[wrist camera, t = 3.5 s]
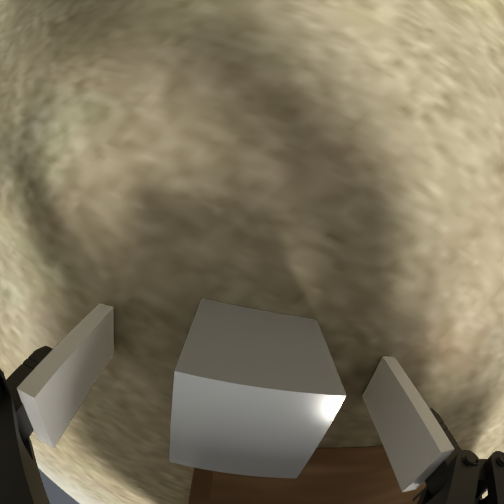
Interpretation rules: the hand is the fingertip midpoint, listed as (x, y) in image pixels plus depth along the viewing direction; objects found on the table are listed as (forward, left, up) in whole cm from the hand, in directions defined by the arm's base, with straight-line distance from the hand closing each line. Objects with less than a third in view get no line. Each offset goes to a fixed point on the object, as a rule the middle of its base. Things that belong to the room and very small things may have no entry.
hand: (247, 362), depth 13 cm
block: (0, 0, 0) cm, 0 cm away
